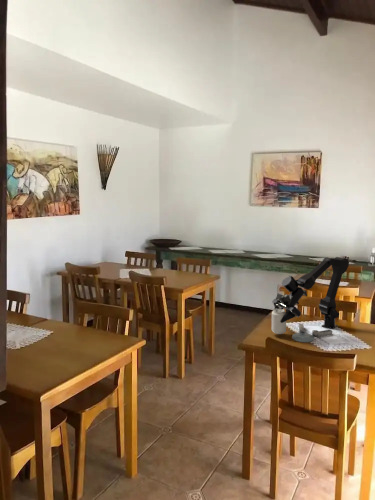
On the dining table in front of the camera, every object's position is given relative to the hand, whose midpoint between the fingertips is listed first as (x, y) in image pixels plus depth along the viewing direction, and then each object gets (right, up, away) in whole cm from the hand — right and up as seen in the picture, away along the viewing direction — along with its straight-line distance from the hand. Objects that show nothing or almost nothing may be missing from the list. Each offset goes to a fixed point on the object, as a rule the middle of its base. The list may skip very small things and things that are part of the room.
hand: (276, 320), depth 214 cm
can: (+1, -7, +2) cm, 7 cm away
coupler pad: (+13, -9, -3) cm, 16 cm away
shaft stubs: (+20, -8, +4) cm, 21 cm away
